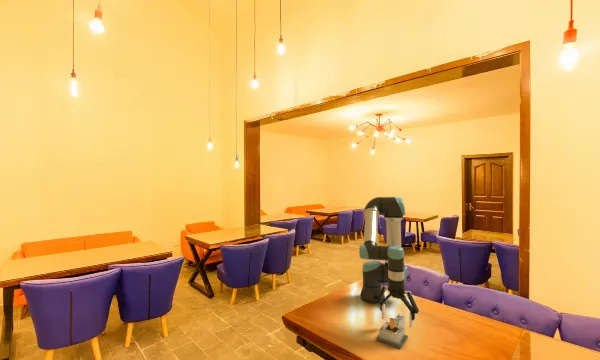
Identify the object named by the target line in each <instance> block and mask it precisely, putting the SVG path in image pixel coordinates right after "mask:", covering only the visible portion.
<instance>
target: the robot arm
mask: <svg viewBox="0 0 600 360" xmlns="http://www.w3.org/2000/svg"><path fill="white" fill-rule="evenodd" d="M363 216H364V231H363V233H364V234H363V236H364V237H363V244H360V245H359V253H358V254H359V258H360V259H362V260H368V261H365V262H363V264H362V288H361V290H360V291H361V292H360V300H361V301H363V302H366V303H368V304H379V309H380V312H381V319H382V320H384V319H385V318H386V304H385V302H387V301H388V300H389V299H390V298H391V297H392V298H394V299H398V300H401V301H402V302H403V304H404V305H405V306H406V308H407V309H408V311H409V314H408V315H409V316H408V317H409V328H413V326H414V321H415V319H416V314H419V312H420V309H419V308H418V305H417V302H416V301H415V299H414V297H413V293H412V291H411V290H408V291H407V290H406V289H405V284H406V281H407V273H408V266H407V265H405V253H404V248H403V246H402V234H401V232H402V225H401V224H402V222H401V221H402V220H403V218H404V216H406V208H405V203H404V199H403V198H402V197H399V196H398V197H397V196H382V197H381V196H377V197H374V198H372V199H370V200H369V201H368V202H367V203H366V205H365V206H364V210H363ZM380 216H383V219H384V220H385V223H386V245H378V244H379V243H378V240H379V239H378V238H379V237H378V233H379V231H378V229H379V227H378V226H379V222H378V221H379V217H380ZM382 261H384V263H382ZM382 284H384V285H382ZM387 285H388V286H387ZM386 291H388V292H389V293H388V294H387V295H385V292H386Z"/></svg>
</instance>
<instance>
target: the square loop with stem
mask: <svg viewBox="0 0 600 360" xmlns="http://www.w3.org/2000/svg"><path fill="white" fill-rule="evenodd" d="M393 319H394V332H392V331H390V321H389V322H388V321H386V322H385V323H384V324H382V326H381V327H380V328H379V333H378V336H379V338H380V339H383V340H386V341H389V342H392V343H394V344H397V345H399V344H400V343H401V341H402V340H403V338H404V337H405V335H406V327H405V323H406V322H405V315H402V314H397V315H396V316H395V317H394V318H393Z"/></svg>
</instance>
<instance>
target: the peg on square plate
mask: <svg viewBox="0 0 600 360" xmlns="http://www.w3.org/2000/svg"><path fill="white" fill-rule="evenodd" d="M394 319H395V318H394V317H390V318H389V323H390V331H392V332H394ZM408 336H409V335H406V334H405V337H404V338H403V340H402V341H401V343H400V344H399V345H397V344H394V343H392V342H389V341H386V340H383V339H380V338H379V335H378V336H377V337H376V339H375V340H376V341H377V342H379V343H383V344H385V345H388V346H390V347H393V348H394V349H395V348H396V349H399V350H401V349H402V347H403V345H405V343H406V341H407V340H408V339H409V337H408Z"/></svg>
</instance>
